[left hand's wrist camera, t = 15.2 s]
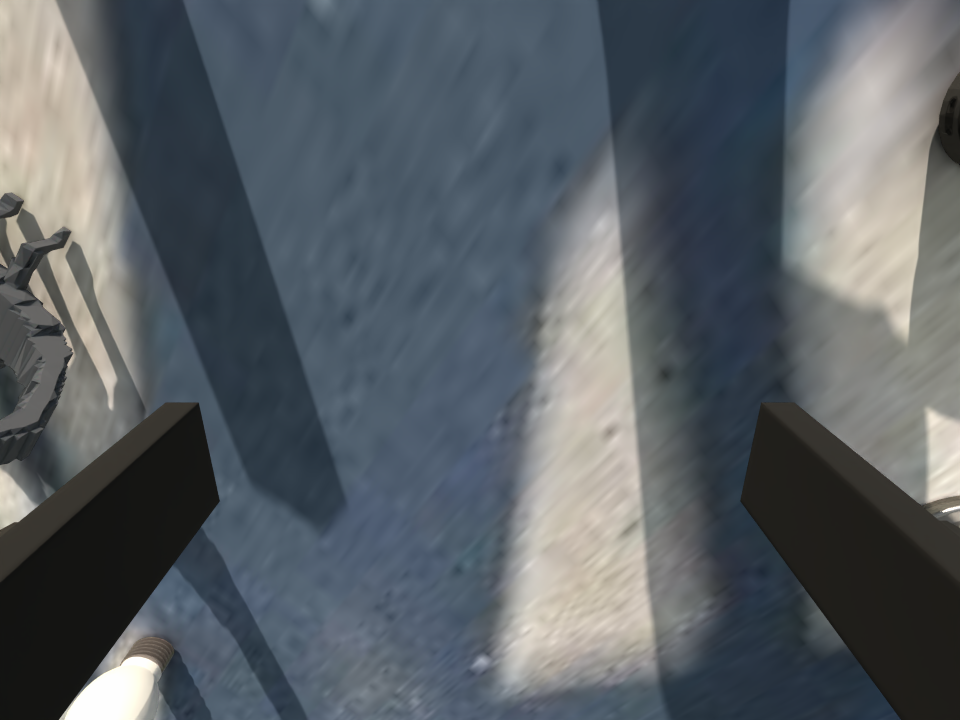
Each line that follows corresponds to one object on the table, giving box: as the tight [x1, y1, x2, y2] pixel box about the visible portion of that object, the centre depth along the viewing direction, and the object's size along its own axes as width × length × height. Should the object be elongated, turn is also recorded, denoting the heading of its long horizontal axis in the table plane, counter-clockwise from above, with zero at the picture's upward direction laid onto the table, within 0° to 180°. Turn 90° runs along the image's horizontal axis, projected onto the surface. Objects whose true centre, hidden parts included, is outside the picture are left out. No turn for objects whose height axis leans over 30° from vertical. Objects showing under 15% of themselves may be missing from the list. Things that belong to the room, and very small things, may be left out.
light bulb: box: [65, 637, 174, 720], centre depth 49 cm, size 7×7×11 cm
